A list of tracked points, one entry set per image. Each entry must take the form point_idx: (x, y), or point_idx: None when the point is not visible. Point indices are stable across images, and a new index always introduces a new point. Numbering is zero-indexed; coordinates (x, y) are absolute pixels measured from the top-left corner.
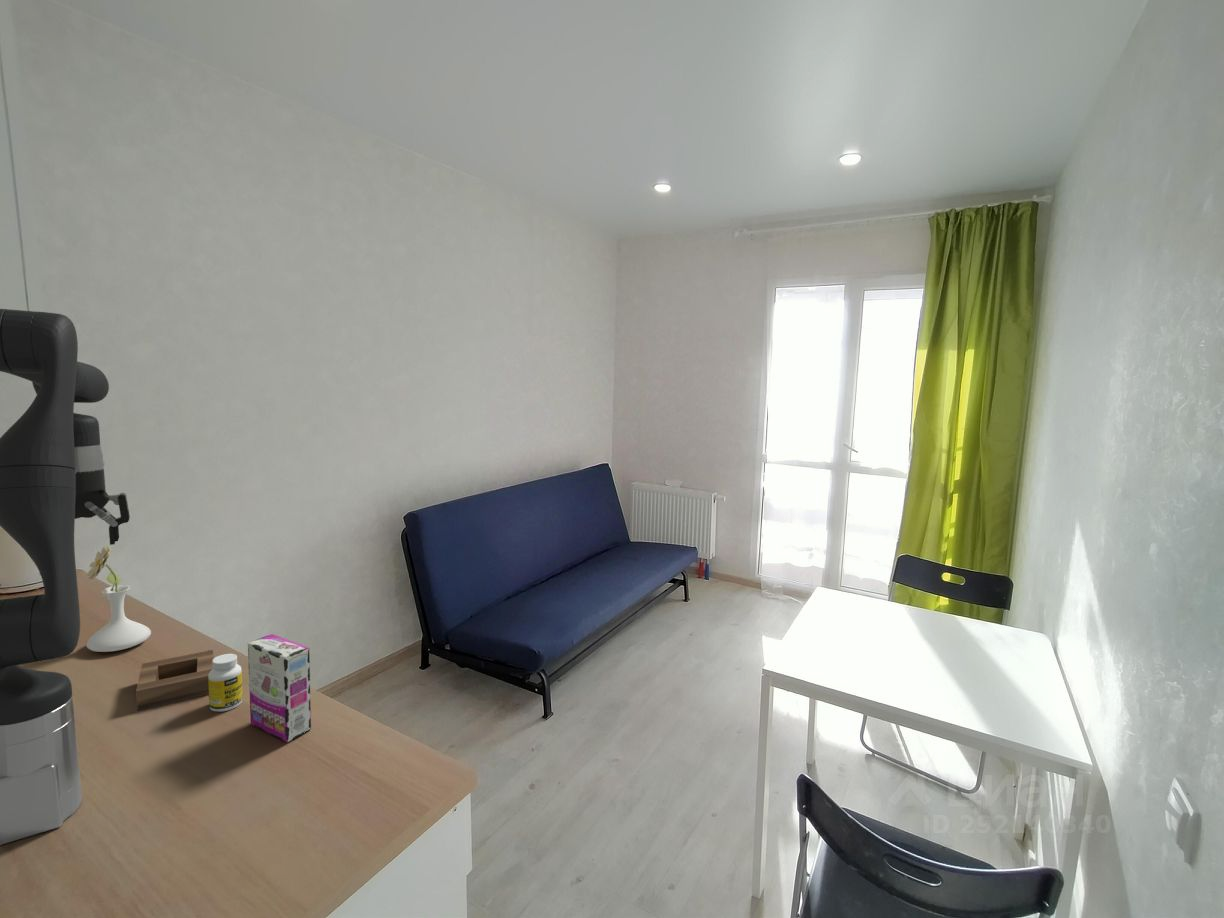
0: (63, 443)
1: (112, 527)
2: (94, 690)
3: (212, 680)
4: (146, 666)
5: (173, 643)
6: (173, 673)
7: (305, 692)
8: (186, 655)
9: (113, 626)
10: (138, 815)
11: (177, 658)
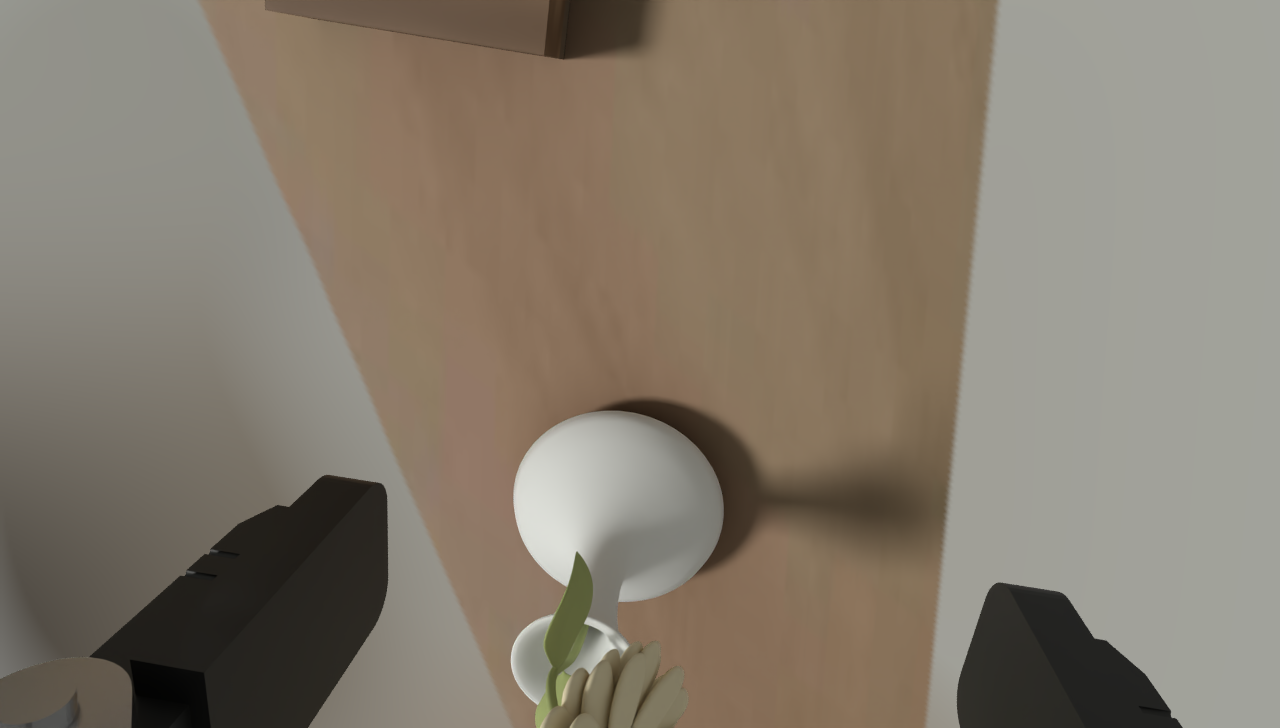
0: None
1: (140, 660)
2: (725, 101)
3: None
4: (529, 4)
5: (452, 383)
6: None
7: None
8: (372, 19)
9: (625, 518)
10: None
11: (408, 11)
